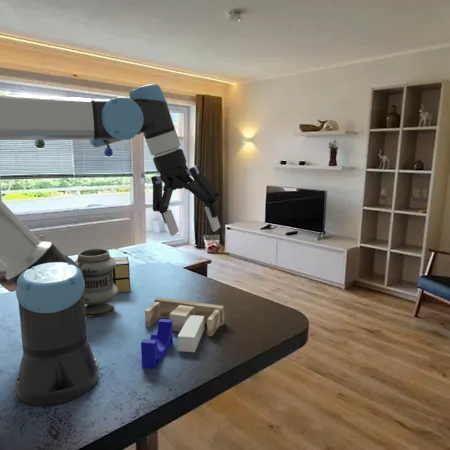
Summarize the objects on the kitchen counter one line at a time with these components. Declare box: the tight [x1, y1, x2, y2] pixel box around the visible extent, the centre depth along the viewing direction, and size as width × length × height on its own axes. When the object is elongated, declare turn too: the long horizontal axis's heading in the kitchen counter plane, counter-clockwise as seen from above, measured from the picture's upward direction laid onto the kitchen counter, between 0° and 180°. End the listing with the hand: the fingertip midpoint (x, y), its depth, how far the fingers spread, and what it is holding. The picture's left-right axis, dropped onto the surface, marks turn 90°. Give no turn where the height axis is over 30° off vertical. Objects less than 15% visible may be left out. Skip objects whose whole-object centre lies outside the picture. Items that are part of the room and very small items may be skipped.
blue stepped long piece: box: [140, 318, 174, 370], centre depth 87 cm, size 12×4×6 cm, turn 170°
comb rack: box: [144, 297, 225, 337], centre depth 102 cm, size 8×20×5 cm, turn 72°
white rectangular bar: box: [177, 315, 205, 353], centre depth 94 cm, size 12×4×4 cm, turn 172°
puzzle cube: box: [112, 255, 131, 294], centre depth 129 cm, size 10×10×10 cm
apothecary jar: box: [74, 247, 118, 318], centre depth 110 cm, size 12×12×18 cm
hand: (195, 231), depth 97 cm, fingers open, 13 cm apart
